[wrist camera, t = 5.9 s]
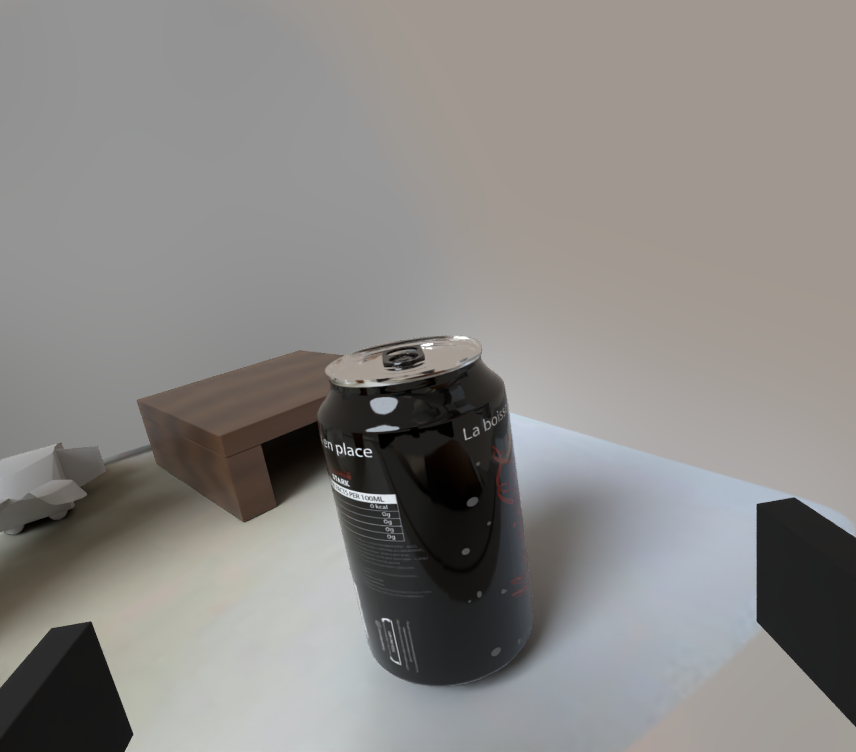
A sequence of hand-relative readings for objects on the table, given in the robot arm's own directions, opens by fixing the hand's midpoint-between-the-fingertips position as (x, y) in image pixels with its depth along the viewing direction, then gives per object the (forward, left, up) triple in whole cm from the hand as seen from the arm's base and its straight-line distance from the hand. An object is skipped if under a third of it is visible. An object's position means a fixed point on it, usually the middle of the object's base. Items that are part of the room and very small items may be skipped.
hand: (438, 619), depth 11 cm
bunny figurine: (+42, +4, -9) cm, 43 cm away
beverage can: (+8, -6, -9) cm, 13 cm away
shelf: (+35, -13, -9) cm, 38 cm away
